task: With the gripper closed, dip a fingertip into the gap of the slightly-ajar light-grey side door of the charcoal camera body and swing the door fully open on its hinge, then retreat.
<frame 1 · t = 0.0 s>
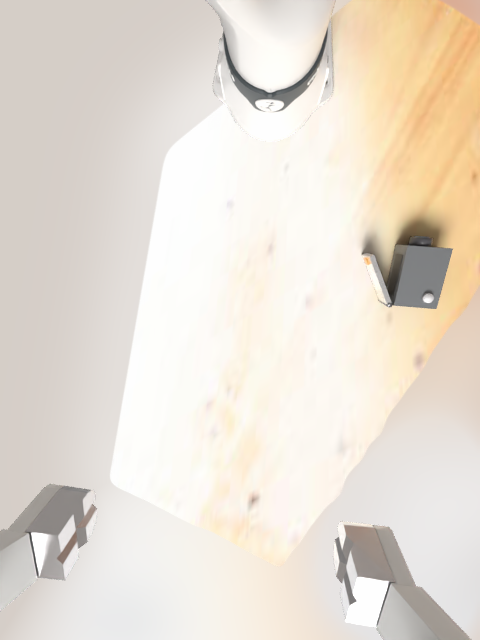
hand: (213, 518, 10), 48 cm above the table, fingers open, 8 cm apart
side door: (376, 280, 51), point 2 cm above the table, hinge at 30.0°
camera body: (409, 274, 53), on the table
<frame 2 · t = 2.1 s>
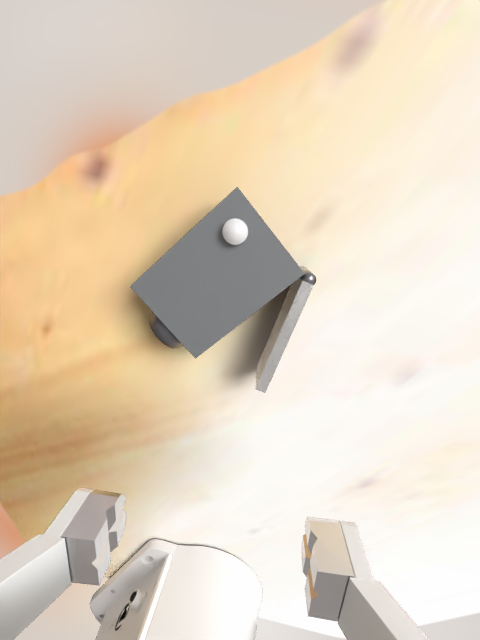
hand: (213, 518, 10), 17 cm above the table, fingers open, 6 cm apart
side door: (284, 327, 23), point 2 cm above the table, hinge at 30.0°
camera body: (223, 271, 24), on the table
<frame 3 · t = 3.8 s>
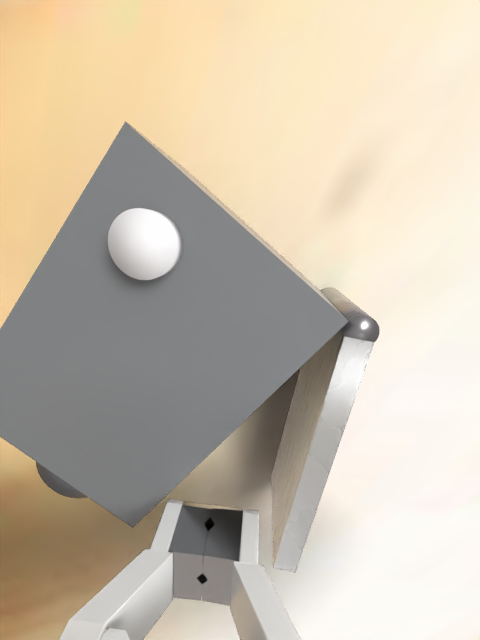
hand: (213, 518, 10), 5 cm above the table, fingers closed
side door: (312, 422, 11), point 2 cm above the table, hinge at 30.0°
camera body: (176, 321, 13), on the table
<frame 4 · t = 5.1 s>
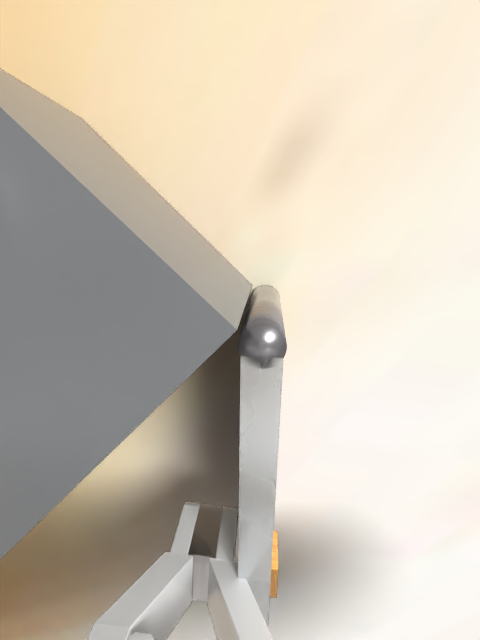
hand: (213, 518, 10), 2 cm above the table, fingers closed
side door: (263, 458, 9), point 2 cm above the table, hinge at 43.2°, touching gripper
camera body: (83, 315, 10), on the table
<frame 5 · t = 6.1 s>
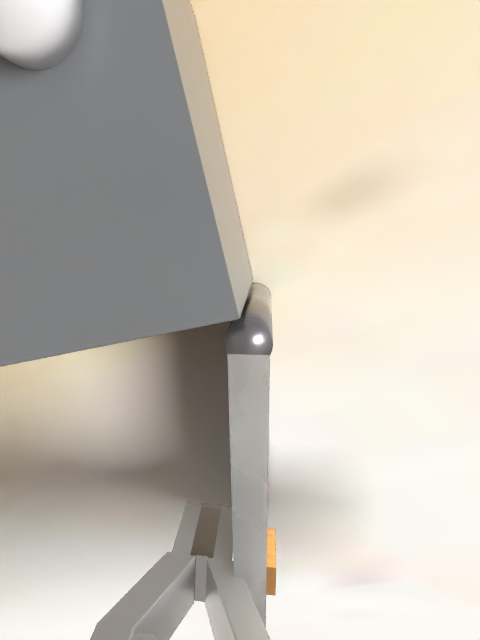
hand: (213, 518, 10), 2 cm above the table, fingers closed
side door: (258, 456, 9), point 2 cm above the table, hinge at 77.7°, touching gripper
camera body: (75, 204, 9), on the table
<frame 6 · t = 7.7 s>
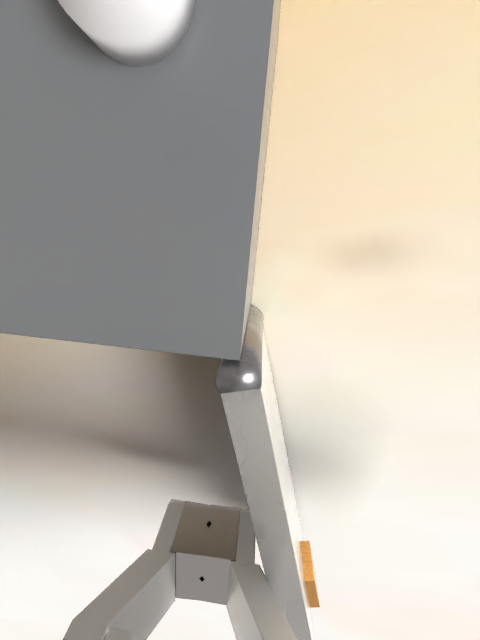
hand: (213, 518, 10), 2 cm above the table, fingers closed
side door: (277, 474, 9), point 2 cm above the table, hinge at 106.4°, touching gripper
camera body: (96, 169, 9), on the table
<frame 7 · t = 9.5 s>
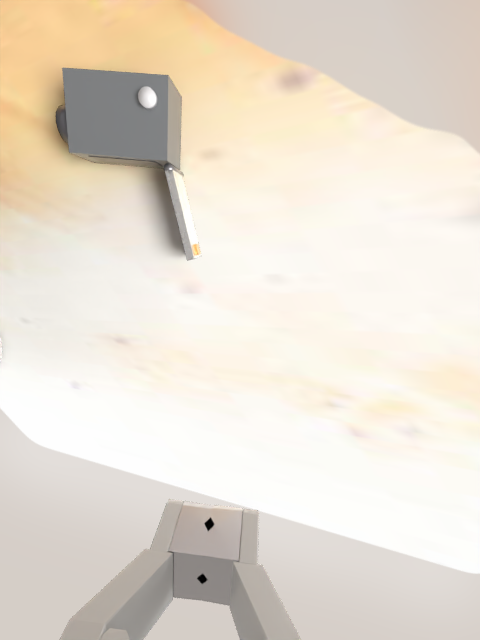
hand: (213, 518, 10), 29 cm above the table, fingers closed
side door: (185, 214, 32), point 2 cm above the table, hinge at 106.5°
camera body: (136, 131, 32), on the table
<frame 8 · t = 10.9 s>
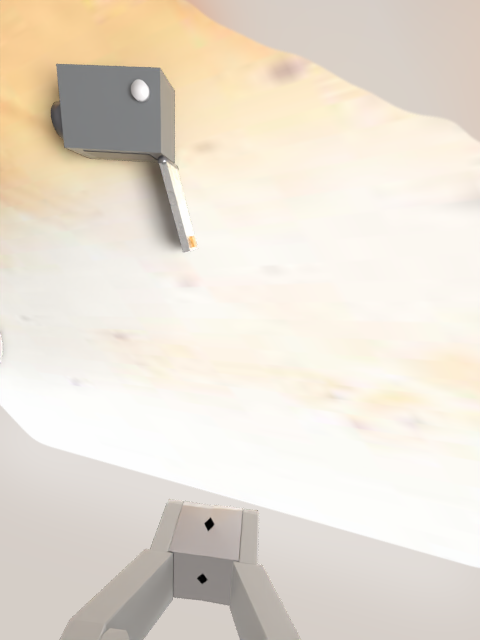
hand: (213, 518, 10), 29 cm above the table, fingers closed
side door: (180, 206, 33), point 2 cm above the table, hinge at 106.5°
camera body: (130, 126, 33), on the table
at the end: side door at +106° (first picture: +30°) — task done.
